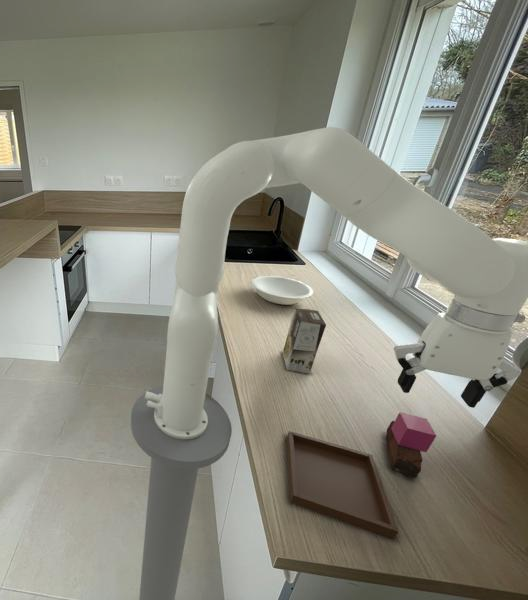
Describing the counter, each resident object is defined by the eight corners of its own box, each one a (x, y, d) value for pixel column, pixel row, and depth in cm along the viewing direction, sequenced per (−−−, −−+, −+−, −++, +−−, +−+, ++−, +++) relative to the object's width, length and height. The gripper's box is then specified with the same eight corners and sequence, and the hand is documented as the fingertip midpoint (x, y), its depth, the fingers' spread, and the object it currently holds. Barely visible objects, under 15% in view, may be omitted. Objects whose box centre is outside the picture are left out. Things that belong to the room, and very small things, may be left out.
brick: (383, 434, 73) (391, 419, 70) (405, 441, 71) (413, 426, 69) (390, 471, 64) (399, 455, 62) (415, 480, 62) (425, 464, 60)
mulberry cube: (398, 444, 64) (407, 428, 62) (390, 428, 68) (399, 411, 66) (426, 452, 63) (436, 435, 61) (417, 434, 67) (426, 418, 65)
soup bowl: (315, 299, 137) (319, 285, 135) (300, 319, 121) (304, 303, 118) (259, 284, 151) (262, 271, 148) (238, 300, 135) (241, 286, 132)
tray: (290, 502, 58) (293, 495, 57) (286, 437, 71) (288, 430, 70) (393, 539, 53) (398, 531, 52) (368, 461, 66) (372, 454, 65)
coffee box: (310, 374, 91) (327, 325, 84) (286, 369, 93) (300, 321, 86) (304, 356, 99) (318, 310, 92) (281, 352, 101) (294, 306, 94)
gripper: (533, 315, 53) (482, 394, 61) (406, 297, 59) (374, 372, 66) (568, 337, 47) (506, 423, 54) (423, 315, 53) (385, 395, 60)
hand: (434, 395), depth 60 cm, fingers open, 9 cm apart
